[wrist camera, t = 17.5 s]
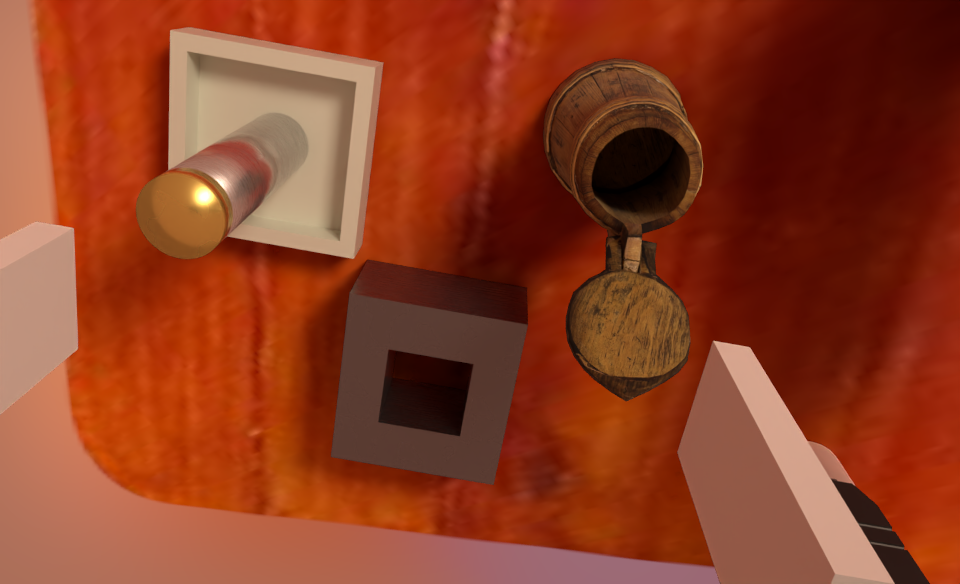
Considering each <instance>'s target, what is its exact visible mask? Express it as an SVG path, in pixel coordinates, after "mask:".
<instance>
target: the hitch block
mask: <svg viewBox="0 0 960 584" xmlns="http://www.w3.org/2000/svg"><path fill="white" fill-rule="evenodd" d="M527 326H528V310H527V288H525V287H519V286H514V285H508V284H502V283H497V282H491V281H485V280H480V279H474V278H469V277H463V276H457V275H452V274H446V273H440V272H435V271H429V270H423V269H418V268H412V267H406V266H401V265H395V264H389V263H384V262H378V261H372V260H367V262H366V264H365V266H364V267H363V269H362V271H361V273H360V275H359V277H358V279H357V280H356V282H355V284H354V286H353V288H352V290H351V292H350V294H349V303H348V311H347V320H346V329H345V338H344V346H343V355H342V364H341V373H340V382H339V390H338V399H337V408H336V417H335V426H334V434H333V443H332V452H331V457H334V458H340V459H346V460H352V461H358V462H363V463H369V464H375V465H381V466H387V467H393V468H398V469H404V470H410V471H416V472H422V473H427V474H433V475H439V476H445V477H451V478H457V479H462V480H468V481H474V482H480V483H486V484H492V485H494V480H495V475H496V471H497V466H498V461H499V457H500V452H501V447H502V443H503V438H504V433H505V429H506V424H507V419H508V415H509V410H510V405H511V401H512V396H513V391H514V387H515V382H516V377H517V373H518V368H519V363H520V359H521V354H522V350H523V345H524V340H525V336H526V331H527ZM396 351H401V352H407V353H413V354H418V355H424V356H430V357H436V358H441V359H447V360H453V361H458V362H464V363H470V364H471V367H470V372H469V377H468V383H467V388H466V390H460V389H454V388H448V387H443V386H437V385H431V384H425V383H420V382H414V381H408V380H402V379H397V378H392V377H393V370H394V363H395V356H396Z"/></svg>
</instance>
